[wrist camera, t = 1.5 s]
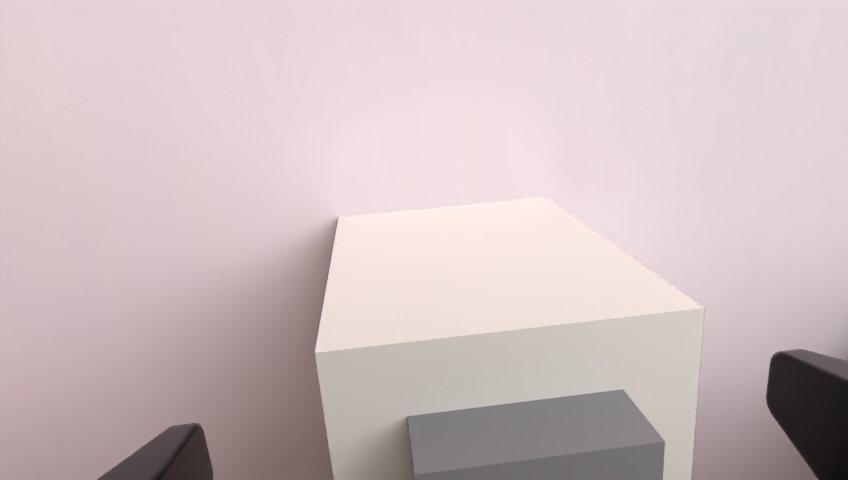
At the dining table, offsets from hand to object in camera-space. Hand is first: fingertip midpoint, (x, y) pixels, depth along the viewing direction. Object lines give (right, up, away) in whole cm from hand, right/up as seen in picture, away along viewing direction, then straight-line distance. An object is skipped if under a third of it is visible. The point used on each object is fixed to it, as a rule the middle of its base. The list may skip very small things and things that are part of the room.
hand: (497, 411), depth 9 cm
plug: (-1, +1, +4) cm, 4 cm away
